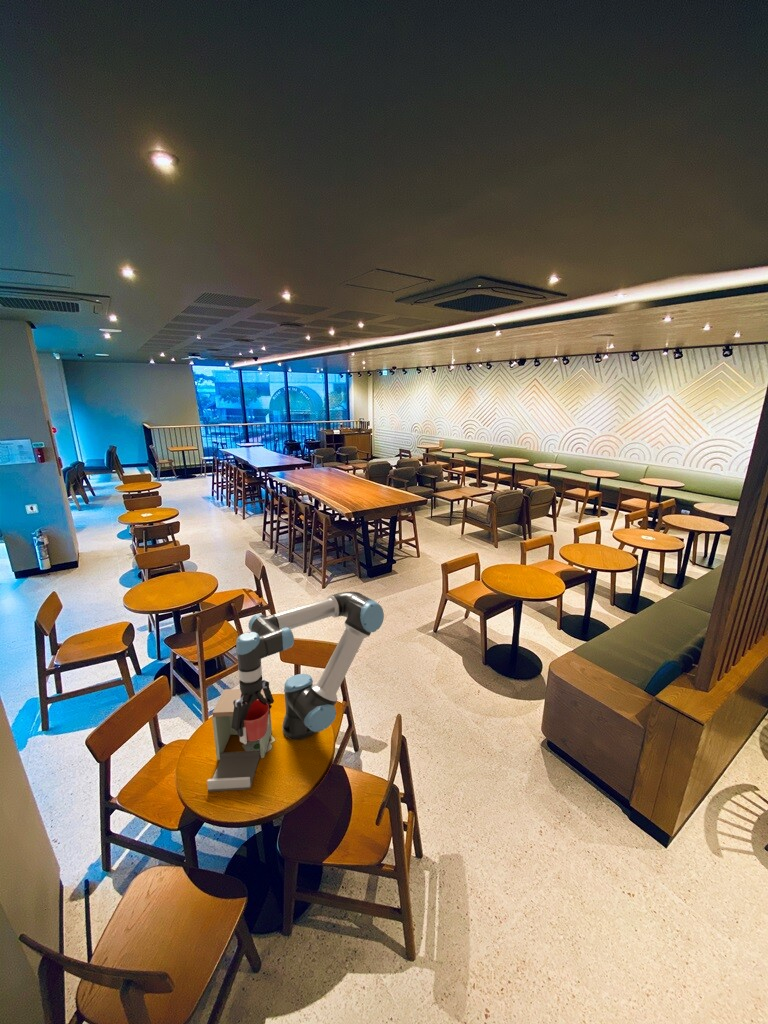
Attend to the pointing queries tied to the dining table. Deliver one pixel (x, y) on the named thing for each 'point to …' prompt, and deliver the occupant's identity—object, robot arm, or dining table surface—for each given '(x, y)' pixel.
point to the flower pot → (256, 721)
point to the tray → (234, 771)
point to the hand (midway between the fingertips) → (255, 732)
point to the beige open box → (224, 722)
